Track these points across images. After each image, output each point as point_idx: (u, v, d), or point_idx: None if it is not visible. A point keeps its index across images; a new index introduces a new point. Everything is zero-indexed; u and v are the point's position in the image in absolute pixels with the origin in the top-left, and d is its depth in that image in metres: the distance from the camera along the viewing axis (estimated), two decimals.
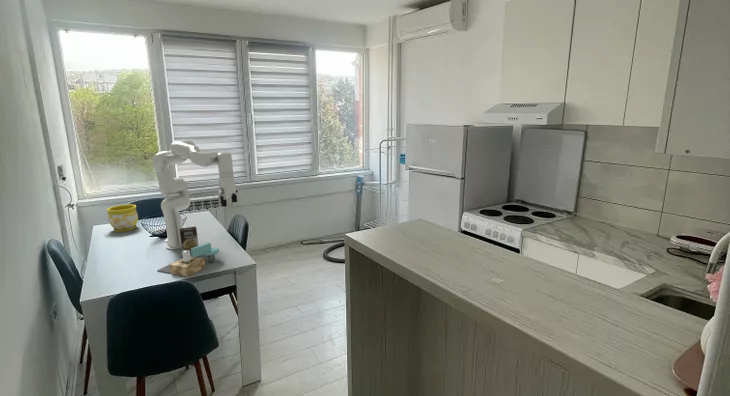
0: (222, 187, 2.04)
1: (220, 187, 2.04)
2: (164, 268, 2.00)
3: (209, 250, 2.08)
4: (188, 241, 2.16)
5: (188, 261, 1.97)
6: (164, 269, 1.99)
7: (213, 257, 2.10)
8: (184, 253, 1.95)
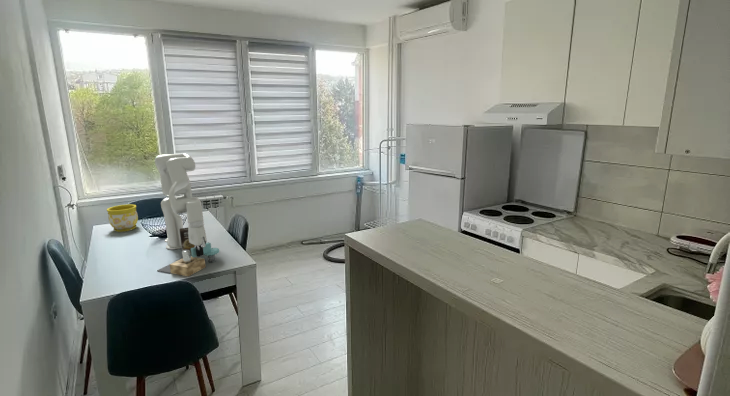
0: (203, 236, 1.95)
1: (201, 237, 1.94)
2: (164, 268, 2.00)
3: (209, 250, 2.08)
4: (188, 241, 2.16)
5: (188, 261, 1.97)
6: (164, 269, 1.99)
7: (213, 258, 2.10)
8: (184, 253, 1.95)
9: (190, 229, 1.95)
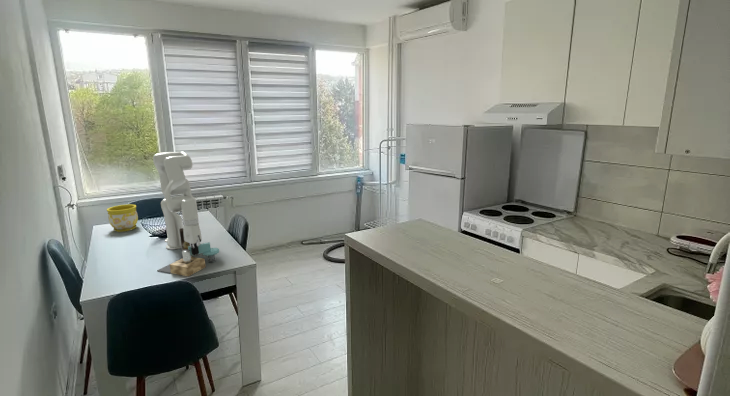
0: (198, 234, 1.97)
1: (196, 235, 1.96)
2: (164, 268, 2.00)
3: (208, 250, 2.08)
4: None
5: (188, 261, 1.97)
6: (164, 269, 1.99)
7: (212, 258, 2.09)
8: (184, 253, 1.95)
9: (185, 227, 1.97)
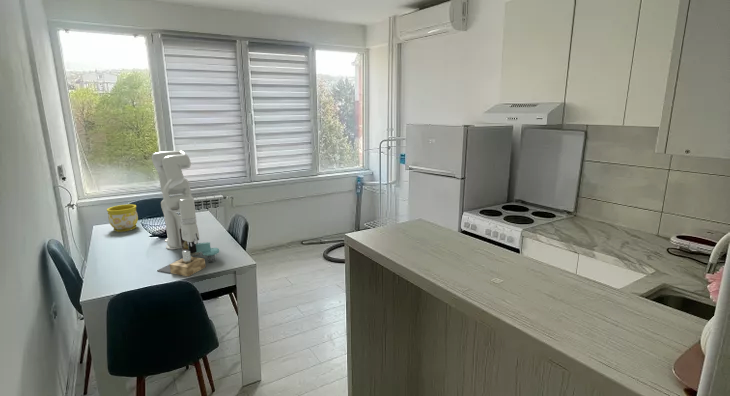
0: (196, 232, 1.99)
1: (193, 233, 1.98)
2: (164, 268, 2.00)
3: (207, 250, 2.08)
4: None
5: (188, 261, 1.97)
6: (164, 269, 1.99)
7: (211, 258, 2.09)
8: (184, 253, 1.95)
9: (183, 226, 1.99)
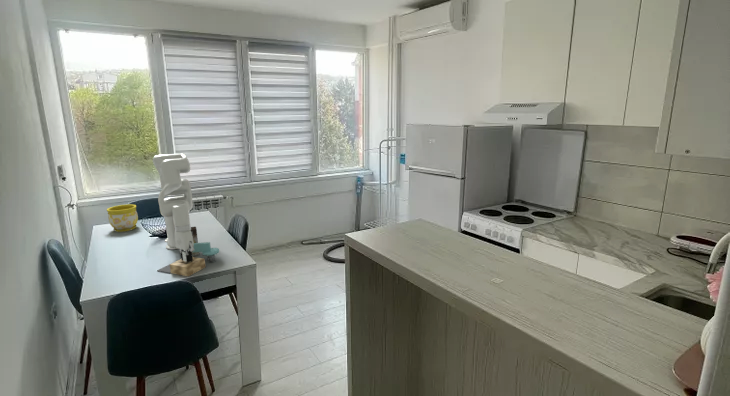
0: (190, 240, 1.93)
1: (188, 241, 1.92)
2: (164, 268, 2.00)
3: (207, 250, 2.08)
4: None
5: None
6: (164, 269, 1.99)
7: (210, 258, 2.09)
8: (184, 253, 1.95)
9: (177, 233, 1.92)
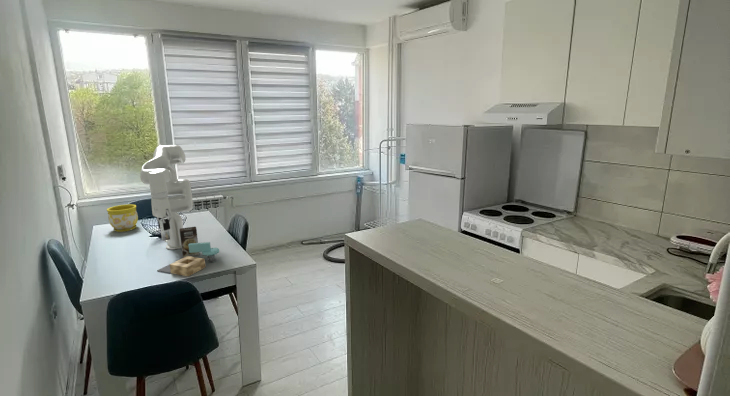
0: (167, 208, 1.90)
1: (165, 208, 1.89)
2: (164, 268, 2.00)
3: (207, 250, 2.08)
4: (188, 241, 2.16)
5: (166, 230, 1.94)
6: (164, 269, 1.99)
7: (210, 258, 2.09)
8: (161, 221, 1.93)
9: (154, 201, 1.90)
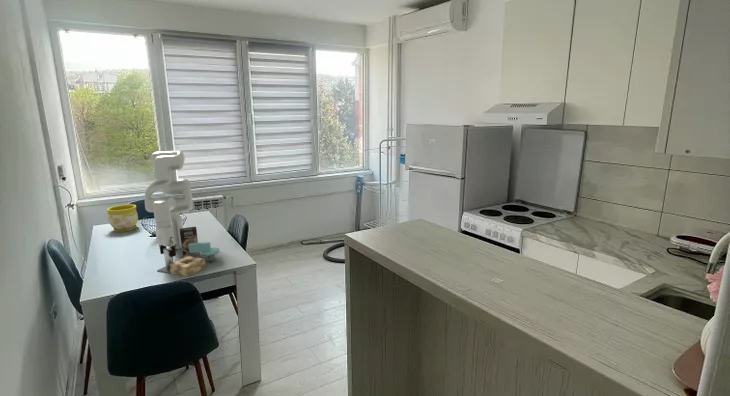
0: (171, 236, 1.94)
1: (169, 237, 1.93)
2: (164, 268, 2.00)
3: (207, 250, 2.08)
4: (188, 241, 2.16)
5: (170, 259, 1.98)
6: (164, 269, 1.99)
7: (210, 258, 2.09)
8: (165, 251, 1.97)
9: (158, 229, 1.94)
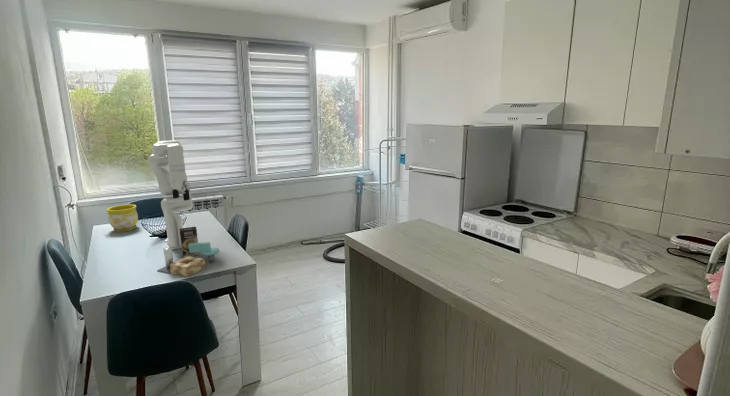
0: (184, 180, 1.98)
1: (182, 180, 1.97)
2: (164, 268, 2.00)
3: (207, 250, 2.08)
4: (188, 241, 2.16)
5: (170, 259, 1.98)
6: (164, 269, 1.99)
7: (210, 258, 2.09)
8: (165, 251, 1.97)
9: (172, 173, 1.98)
